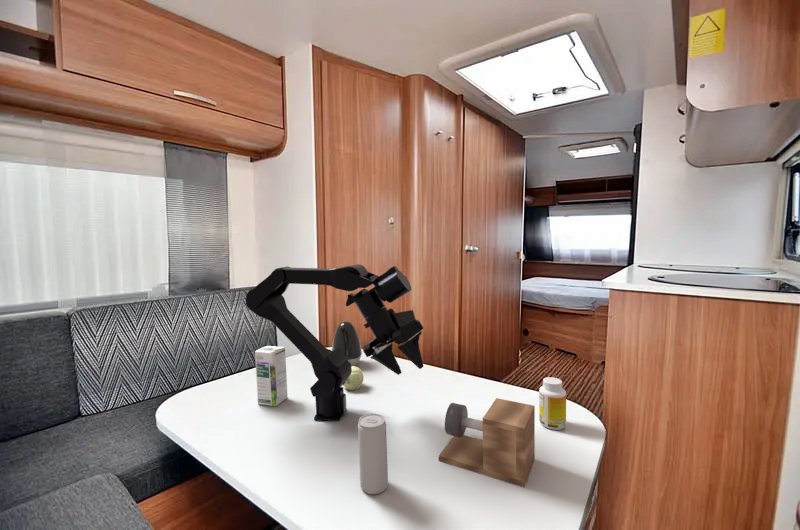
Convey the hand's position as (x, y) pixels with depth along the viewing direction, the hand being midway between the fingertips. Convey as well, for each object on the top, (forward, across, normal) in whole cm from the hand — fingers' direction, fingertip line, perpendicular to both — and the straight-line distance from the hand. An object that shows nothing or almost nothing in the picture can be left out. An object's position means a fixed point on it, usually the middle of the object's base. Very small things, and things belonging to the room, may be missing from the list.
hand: (410, 370), depth 83 cm
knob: (+15, -12, +4) cm, 19 cm away
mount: (+19, -13, +4) cm, 24 cm away
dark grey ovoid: (-5, +45, -8) cm, 46 cm away
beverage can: (+10, -6, +23) cm, 26 cm away
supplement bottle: (+27, -14, -16) cm, 34 cm away
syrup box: (-9, +35, +20) cm, 41 cm away
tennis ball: (0, +29, +1) cm, 29 cm away
